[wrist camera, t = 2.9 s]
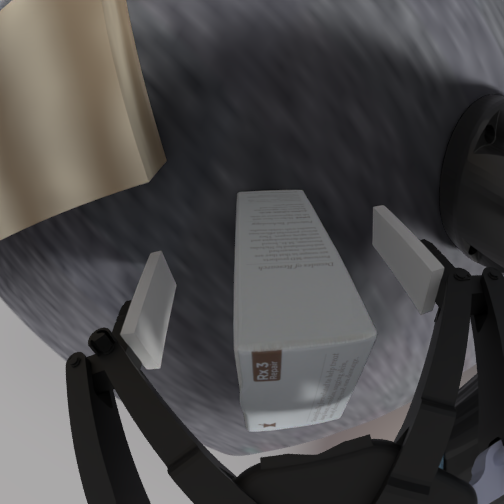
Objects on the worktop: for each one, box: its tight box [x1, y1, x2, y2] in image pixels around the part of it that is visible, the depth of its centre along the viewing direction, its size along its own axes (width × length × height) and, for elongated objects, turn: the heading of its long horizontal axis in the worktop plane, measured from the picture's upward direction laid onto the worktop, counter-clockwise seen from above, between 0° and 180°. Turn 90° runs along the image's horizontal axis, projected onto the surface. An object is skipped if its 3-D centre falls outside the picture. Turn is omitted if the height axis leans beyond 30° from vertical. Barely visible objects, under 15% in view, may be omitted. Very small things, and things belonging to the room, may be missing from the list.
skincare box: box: [233, 190, 377, 432], centre depth 14 cm, size 6×4×12 cm
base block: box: [0, 0, 167, 240], centre depth 11 cm, size 16×14×4 cm
